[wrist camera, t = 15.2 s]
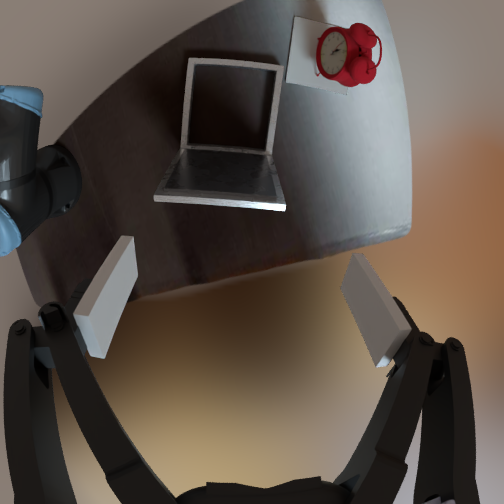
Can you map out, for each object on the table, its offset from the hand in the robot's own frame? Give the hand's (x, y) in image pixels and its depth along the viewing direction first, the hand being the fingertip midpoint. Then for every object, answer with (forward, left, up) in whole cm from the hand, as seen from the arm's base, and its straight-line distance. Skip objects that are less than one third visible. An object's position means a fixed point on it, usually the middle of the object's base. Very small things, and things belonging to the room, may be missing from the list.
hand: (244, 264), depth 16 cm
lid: (-2, 0, -31) cm, 32 cm away
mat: (+12, +20, -35) cm, 42 cm away
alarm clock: (+14, +20, -34) cm, 42 cm away
